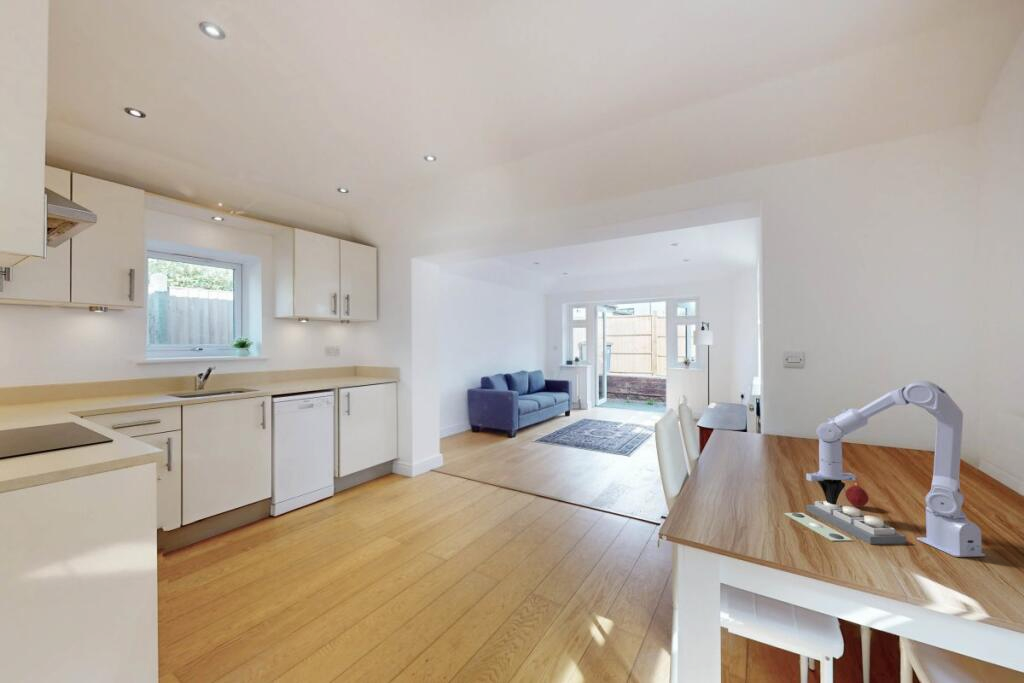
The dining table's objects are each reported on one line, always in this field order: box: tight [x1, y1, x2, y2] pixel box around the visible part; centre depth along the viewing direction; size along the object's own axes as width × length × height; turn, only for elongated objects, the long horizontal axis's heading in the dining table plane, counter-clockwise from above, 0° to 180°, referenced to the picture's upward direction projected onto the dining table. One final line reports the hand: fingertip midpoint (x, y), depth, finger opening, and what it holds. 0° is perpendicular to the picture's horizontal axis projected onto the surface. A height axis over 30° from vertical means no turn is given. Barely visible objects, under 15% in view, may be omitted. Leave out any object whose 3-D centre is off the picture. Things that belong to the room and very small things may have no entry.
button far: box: [822, 500, 841, 508], centre depth 124 cm, size 4×4×2 cm
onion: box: [844, 482, 870, 509], centre depth 130 cm, size 6×6×8 cm
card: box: [783, 512, 854, 542], centre depth 116 cm, size 18×6×1 cm, turn 2°
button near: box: [864, 515, 885, 528], centre depth 110 cm, size 4×4×2 cm
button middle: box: [843, 505, 861, 517], centre depth 117 cm, size 4×4×2 cm
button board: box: [806, 500, 907, 545], centre depth 117 cm, size 22×10×4 cm, turn 2°
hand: (831, 503), depth 124 cm, fingers closed, pressing on button far
